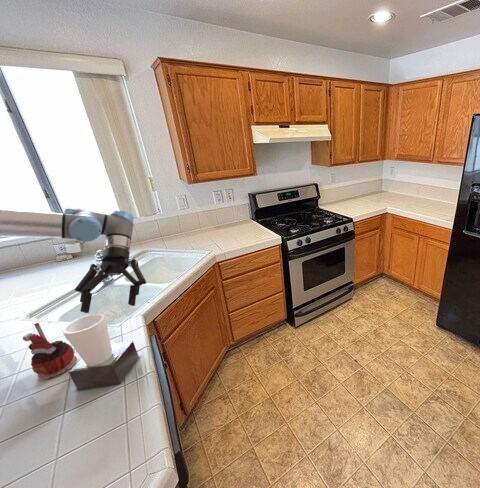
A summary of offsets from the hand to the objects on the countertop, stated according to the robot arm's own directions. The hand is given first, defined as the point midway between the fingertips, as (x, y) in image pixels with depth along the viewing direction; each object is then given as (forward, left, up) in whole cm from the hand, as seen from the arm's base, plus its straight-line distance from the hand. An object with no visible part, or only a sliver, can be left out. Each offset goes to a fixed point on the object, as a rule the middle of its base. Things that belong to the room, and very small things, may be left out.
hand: (108, 308), depth 86 cm
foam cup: (0, -10, -12) cm, 15 cm away
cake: (-19, -3, -19) cm, 27 cm away
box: (0, -8, -19) cm, 21 cm away
